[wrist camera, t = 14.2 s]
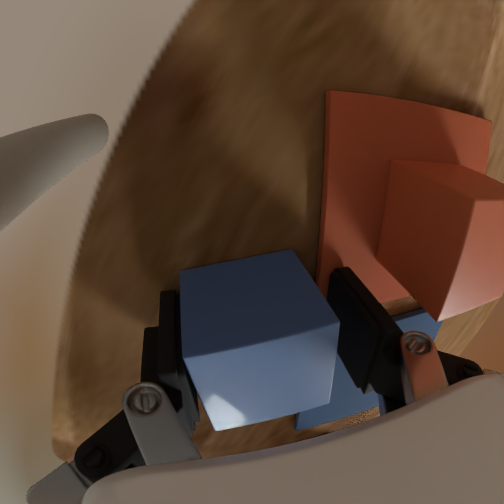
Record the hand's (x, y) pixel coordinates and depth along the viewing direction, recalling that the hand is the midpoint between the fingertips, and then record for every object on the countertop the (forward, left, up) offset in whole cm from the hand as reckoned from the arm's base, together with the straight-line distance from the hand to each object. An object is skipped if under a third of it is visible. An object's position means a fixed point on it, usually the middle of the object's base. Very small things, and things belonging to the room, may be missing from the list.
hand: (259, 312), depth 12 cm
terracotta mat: (+7, +4, -1) cm, 8 cm away
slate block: (-1, 0, -1) cm, 1 cm away
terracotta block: (+7, +4, 0) cm, 8 cm away
